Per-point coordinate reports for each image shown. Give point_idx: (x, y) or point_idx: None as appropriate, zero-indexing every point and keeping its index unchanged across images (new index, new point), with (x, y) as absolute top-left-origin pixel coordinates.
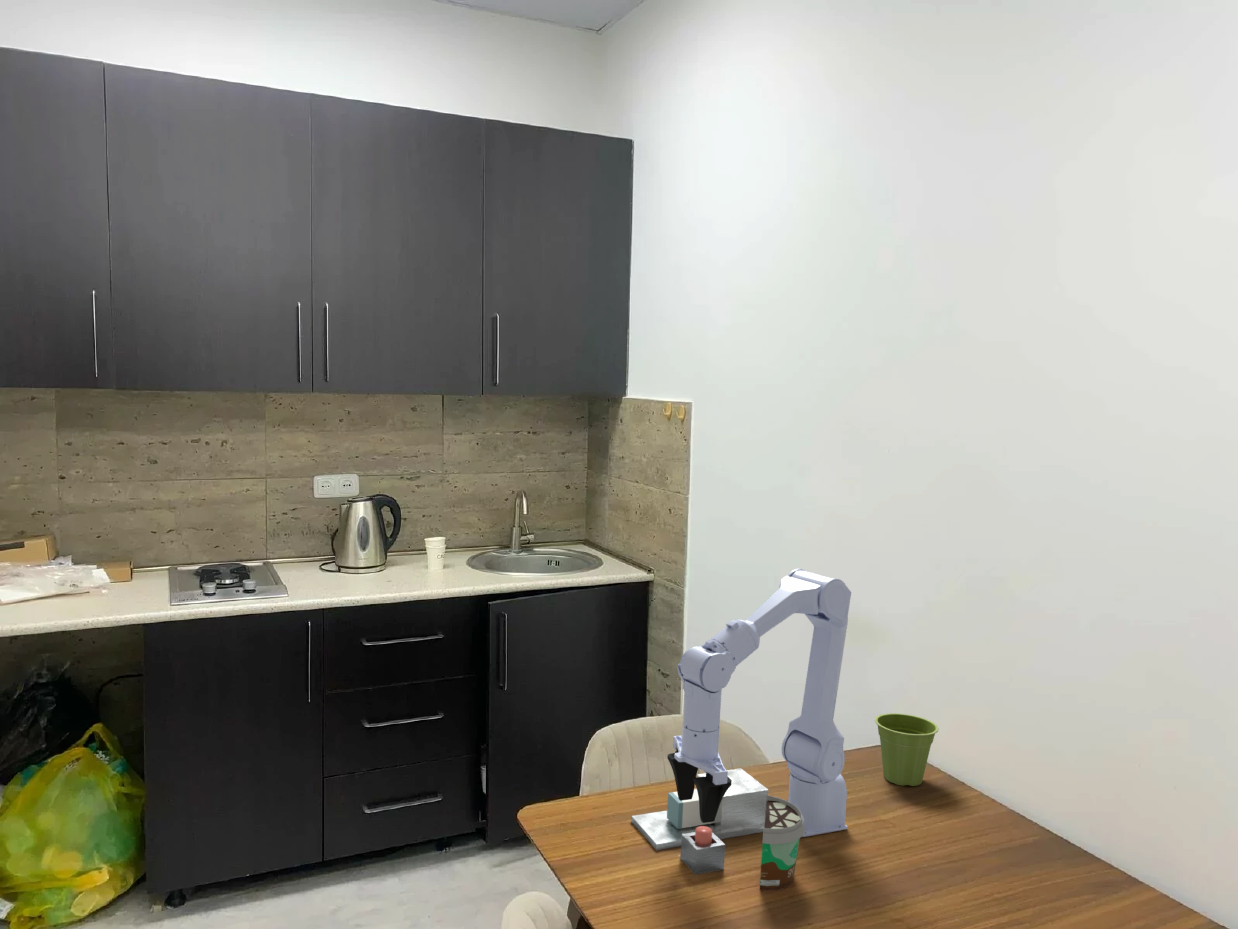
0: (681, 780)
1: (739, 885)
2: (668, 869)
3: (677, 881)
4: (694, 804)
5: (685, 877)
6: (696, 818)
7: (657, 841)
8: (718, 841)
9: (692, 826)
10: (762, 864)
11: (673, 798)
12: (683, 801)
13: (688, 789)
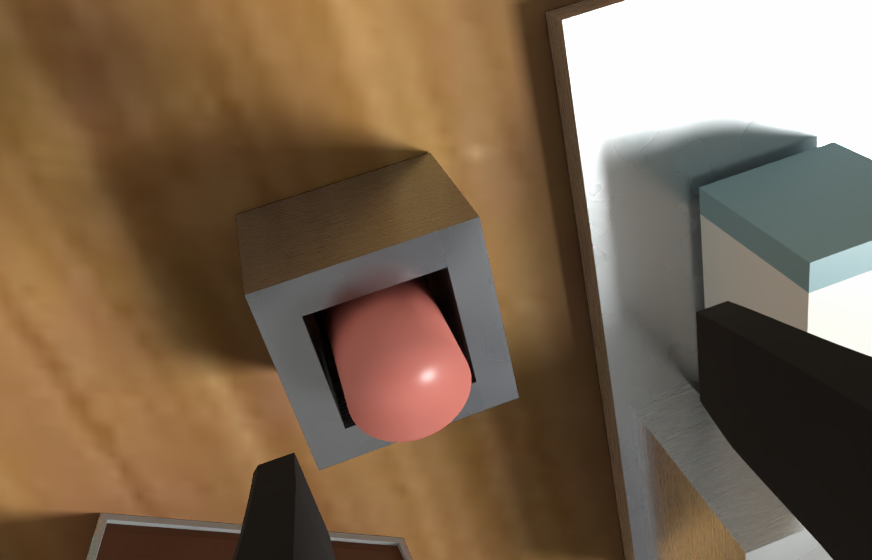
0: (840, 435)
1: (136, 430)
2: (306, 54)
3: (151, 90)
4: None
5: (207, 151)
6: None
7: (596, 32)
8: (361, 436)
9: None
10: None
11: None
12: (822, 296)
13: (758, 433)
